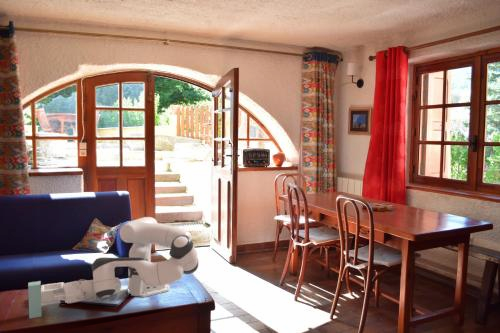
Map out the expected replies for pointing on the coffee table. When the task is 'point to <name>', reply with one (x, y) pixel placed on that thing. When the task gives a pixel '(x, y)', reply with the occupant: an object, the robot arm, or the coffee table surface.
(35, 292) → the teal block
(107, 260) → the robot arm
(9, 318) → the coffee table surface
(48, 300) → the white block stand
